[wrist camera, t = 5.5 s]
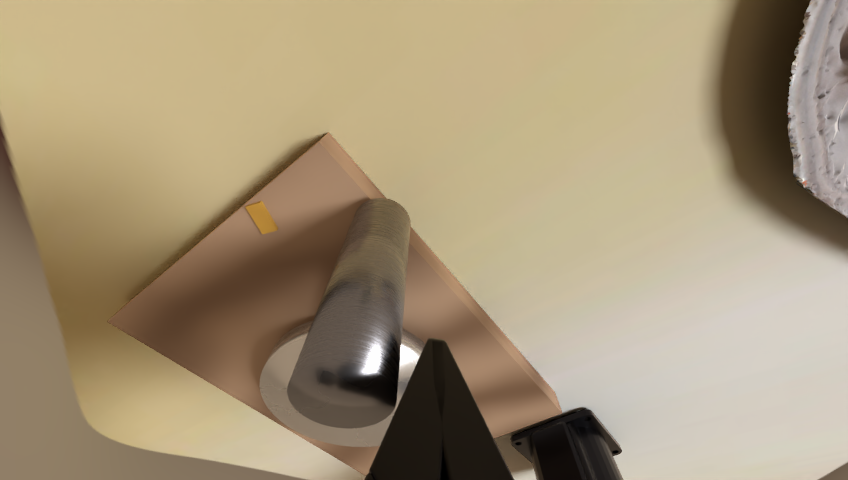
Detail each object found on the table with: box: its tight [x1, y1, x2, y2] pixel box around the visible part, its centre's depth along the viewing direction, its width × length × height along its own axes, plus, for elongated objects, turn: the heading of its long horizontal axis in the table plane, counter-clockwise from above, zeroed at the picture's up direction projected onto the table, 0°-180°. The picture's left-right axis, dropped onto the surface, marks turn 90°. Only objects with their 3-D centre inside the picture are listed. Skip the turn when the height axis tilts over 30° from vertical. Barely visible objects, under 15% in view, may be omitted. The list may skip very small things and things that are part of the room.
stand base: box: [107, 132, 562, 475], centre depth 21 cm, size 22×16×2 cm
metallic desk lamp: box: [260, 198, 425, 447], centre depth 15 cm, size 17×10×8 cm, turn 168°
